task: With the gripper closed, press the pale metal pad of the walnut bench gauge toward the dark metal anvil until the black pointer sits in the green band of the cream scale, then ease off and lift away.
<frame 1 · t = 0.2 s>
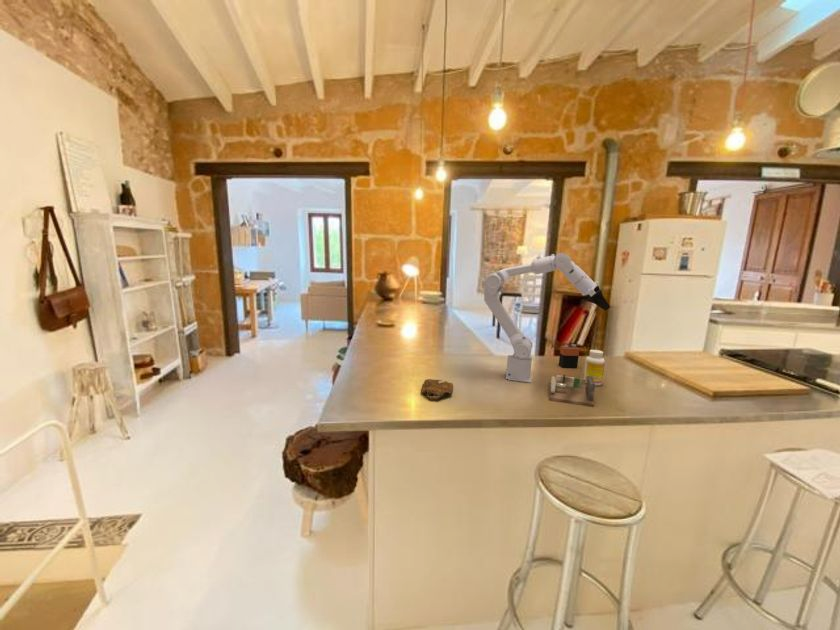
hand: (606, 307, 135), 31 cm above the countertop, tool tilted 45°, fingers open, 7 cm apart
supplement bottle: (592, 383, 148), on the countertop
battery: (567, 367, 167), on the countertop
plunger: (559, 383, 136), point 3 cm above the countertop, slide at 0.0 cm
decorative rock: (437, 394, 133), on the countertop
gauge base: (568, 396, 134), on the countertop
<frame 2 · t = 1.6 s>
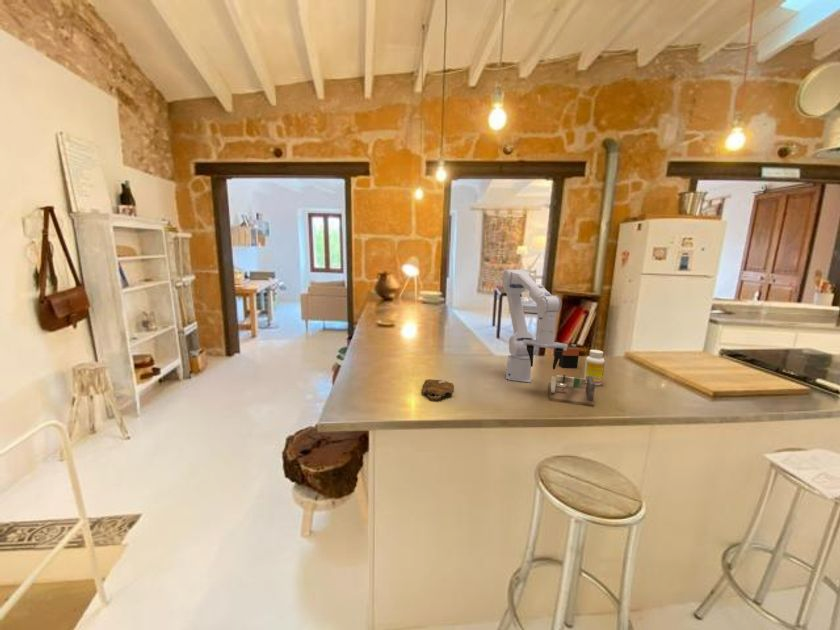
hand: (542, 367, 135), 9 cm above the countertop, tool pointing down, fingers open, 7 cm apart
nothing on the countertop moved.
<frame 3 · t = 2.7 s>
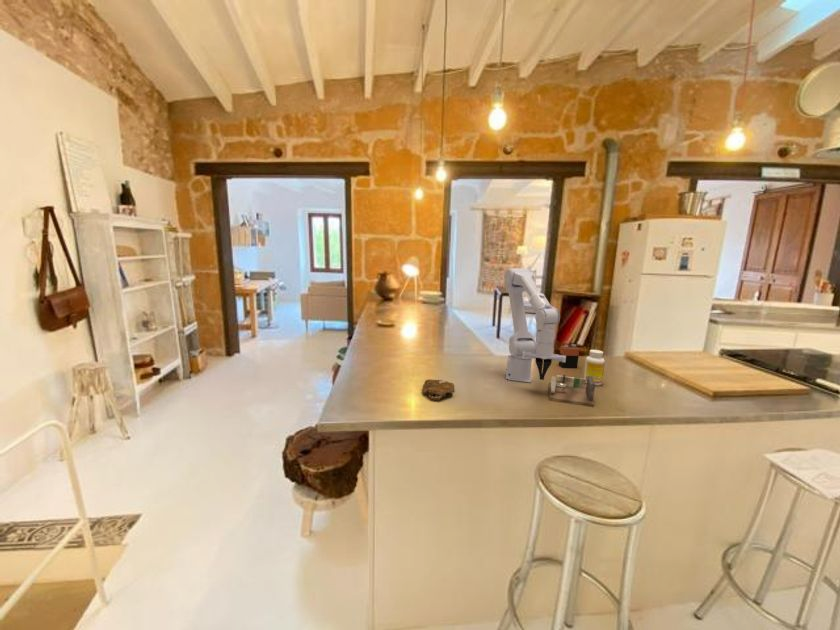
hand: (541, 378, 135), 5 cm above the countertop, tool pointing down, fingers closed
nothing on the countertop moved.
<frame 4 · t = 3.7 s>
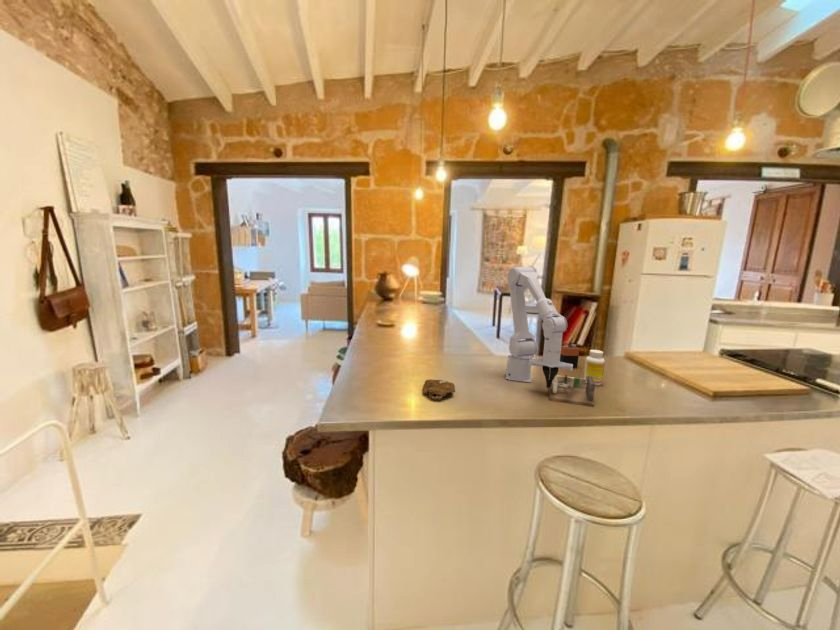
hand: (548, 386, 135), 2 cm above the countertop, tool pointing down, fingers closed
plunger: (561, 384, 135), point 3 cm above the countertop, slide at 0.6 cm, touching gripper
everything else where it was.
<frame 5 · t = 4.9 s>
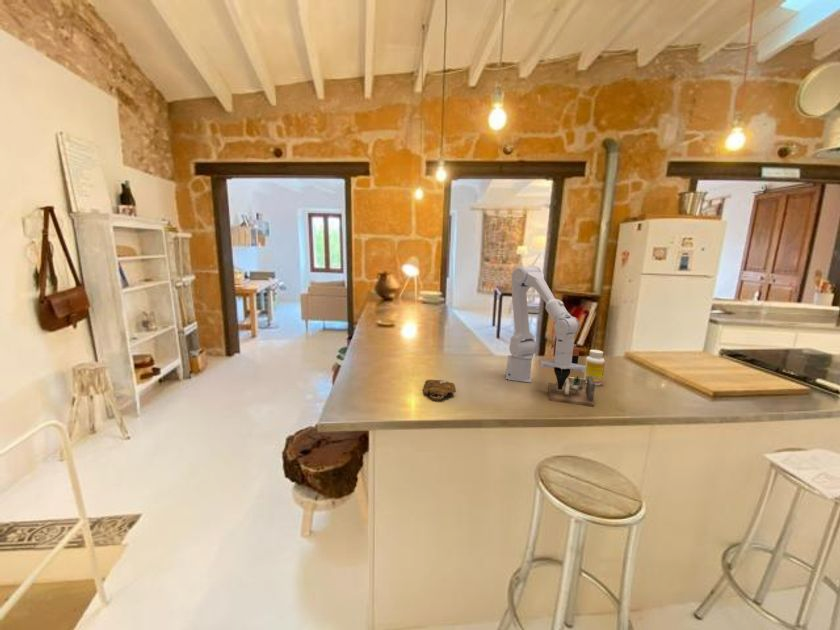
hand: (559, 388, 134), 2 cm above the countertop, tool pointing down, fingers closed
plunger: (572, 385, 134), point 3 cm above the countertop, slide at 4.5 cm, touching gripper
everything else where it was.
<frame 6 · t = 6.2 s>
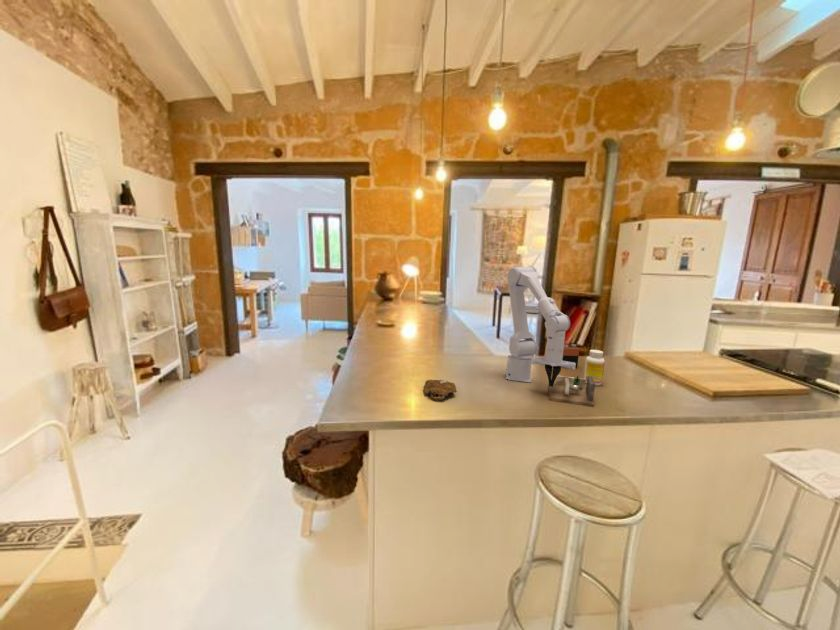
hand: (550, 385, 135), 3 cm above the countertop, tool pointing down, fingers closed
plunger: (572, 385, 134), point 3 cm above the countertop, slide at 4.5 cm
everything else where it was.
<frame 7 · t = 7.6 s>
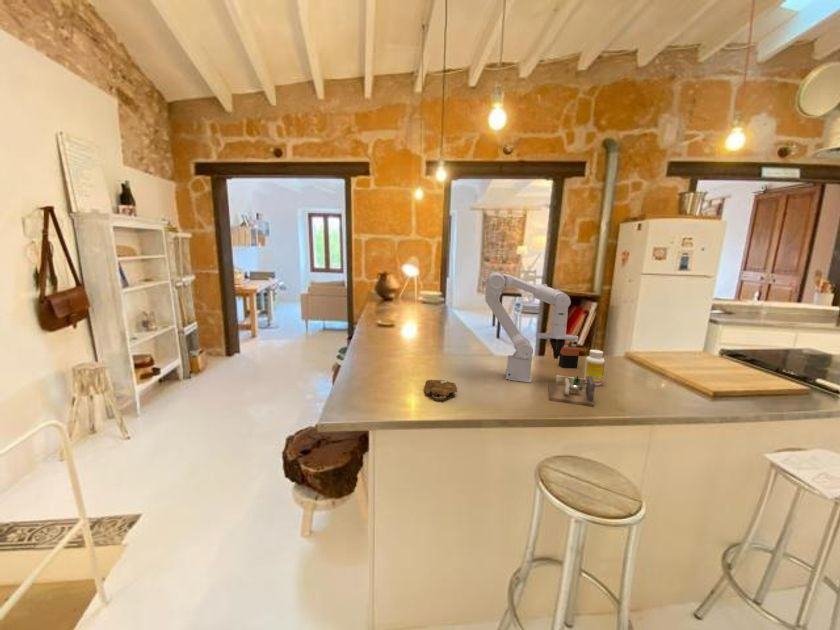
hand: (555, 358, 146), 9 cm above the countertop, tool pointing down, fingers closed
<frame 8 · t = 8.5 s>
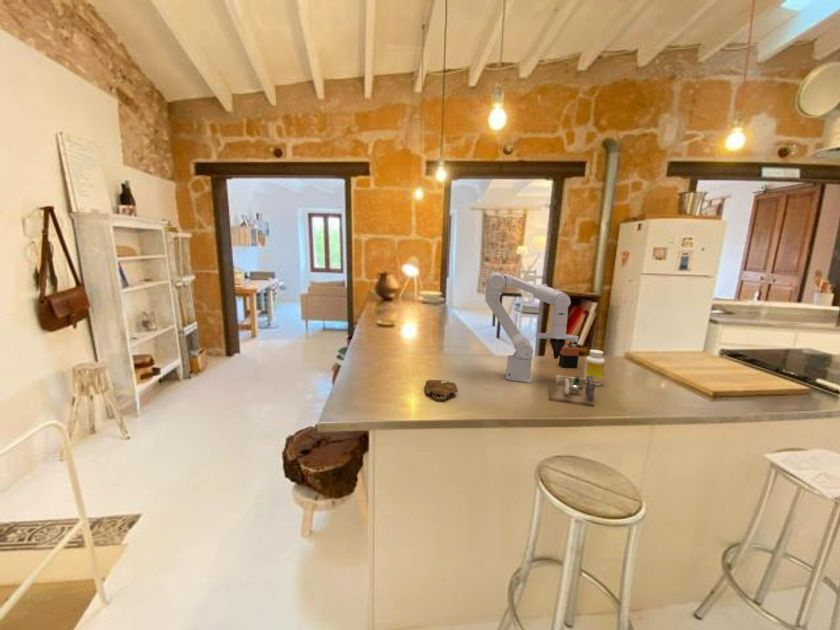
hand: (555, 358, 146), 9 cm above the countertop, tool pointing down, fingers closed
at the end: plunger slide at 4.5 cm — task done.
